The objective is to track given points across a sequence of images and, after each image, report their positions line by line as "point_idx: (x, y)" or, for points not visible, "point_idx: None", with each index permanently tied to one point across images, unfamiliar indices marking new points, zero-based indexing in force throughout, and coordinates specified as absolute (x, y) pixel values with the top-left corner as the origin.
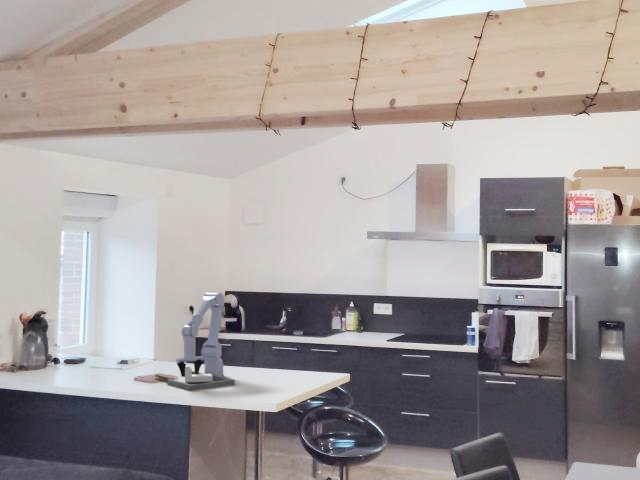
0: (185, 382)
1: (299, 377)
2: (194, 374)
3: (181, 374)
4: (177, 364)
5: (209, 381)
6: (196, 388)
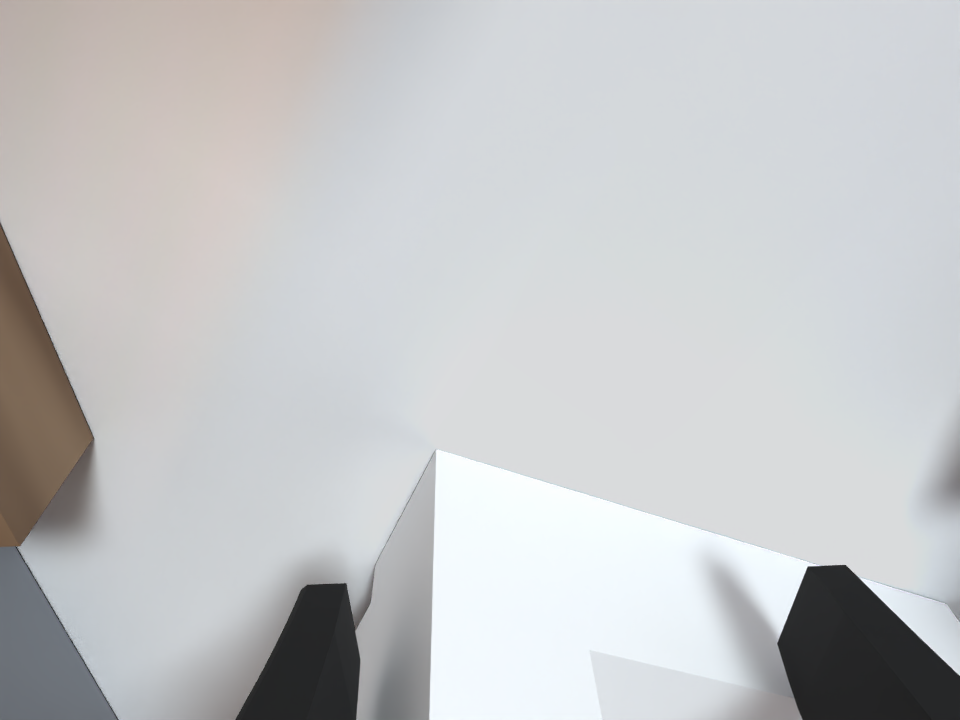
0: (380, 559)
1: None
2: (695, 688)
3: (284, 654)
4: None
5: None
6: None
